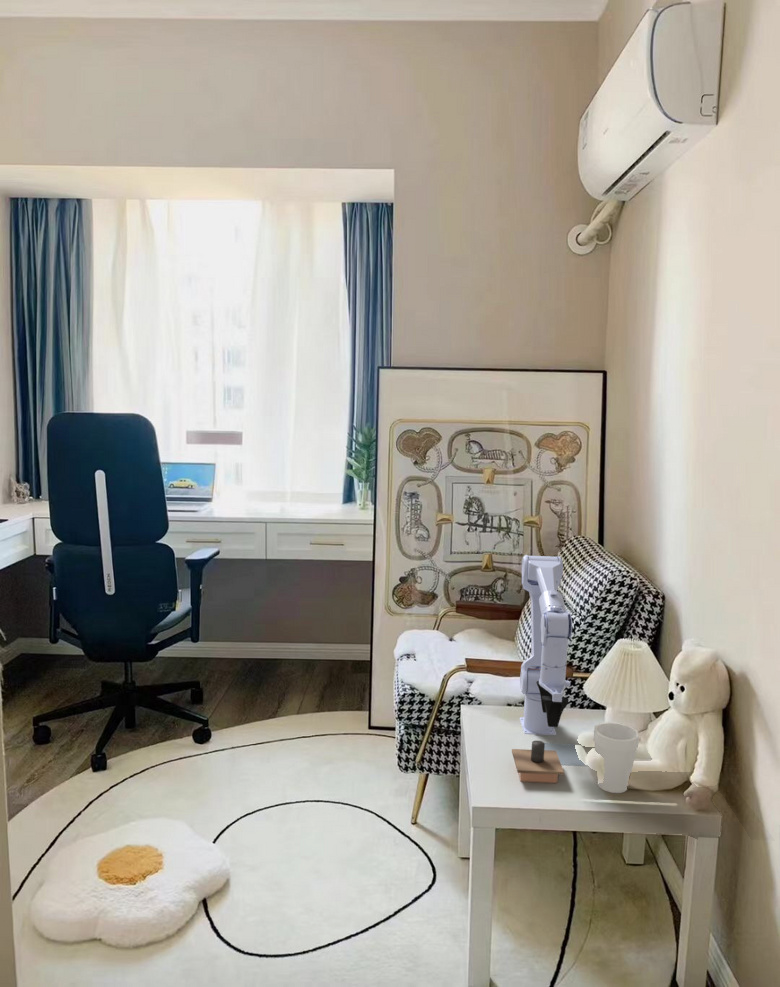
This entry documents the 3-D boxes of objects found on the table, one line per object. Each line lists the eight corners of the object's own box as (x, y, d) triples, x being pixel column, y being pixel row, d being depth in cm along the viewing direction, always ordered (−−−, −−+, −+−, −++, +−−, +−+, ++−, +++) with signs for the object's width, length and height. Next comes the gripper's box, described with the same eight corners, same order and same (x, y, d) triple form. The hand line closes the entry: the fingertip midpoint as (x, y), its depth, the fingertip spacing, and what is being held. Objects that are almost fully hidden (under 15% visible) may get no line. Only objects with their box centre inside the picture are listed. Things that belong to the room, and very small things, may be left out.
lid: (511, 751, 188) (512, 732, 187) (555, 753, 188) (556, 734, 187) (517, 772, 178) (518, 752, 178) (563, 774, 178) (565, 754, 177)
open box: (515, 765, 188) (516, 753, 187) (550, 767, 188) (551, 755, 187) (520, 783, 180) (521, 770, 179) (556, 785, 180) (557, 772, 179)
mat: (536, 744, 199) (537, 742, 199) (582, 746, 199) (582, 744, 199) (543, 766, 188) (544, 764, 188) (592, 768, 188) (592, 766, 188)
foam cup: (639, 784, 181) (644, 729, 179) (628, 803, 173) (633, 745, 171) (596, 773, 186) (600, 718, 184) (584, 790, 178) (588, 733, 176)
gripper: (577, 675, 182) (573, 733, 184) (565, 653, 196) (561, 707, 198) (545, 674, 182) (541, 732, 184) (535, 651, 196) (532, 705, 198)
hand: (549, 719), depth 191 cm, fingers open, 7 cm apart
